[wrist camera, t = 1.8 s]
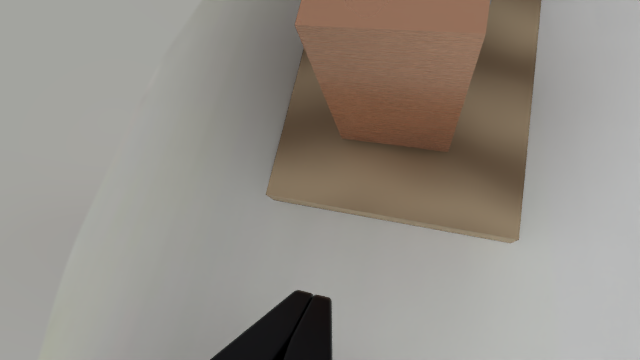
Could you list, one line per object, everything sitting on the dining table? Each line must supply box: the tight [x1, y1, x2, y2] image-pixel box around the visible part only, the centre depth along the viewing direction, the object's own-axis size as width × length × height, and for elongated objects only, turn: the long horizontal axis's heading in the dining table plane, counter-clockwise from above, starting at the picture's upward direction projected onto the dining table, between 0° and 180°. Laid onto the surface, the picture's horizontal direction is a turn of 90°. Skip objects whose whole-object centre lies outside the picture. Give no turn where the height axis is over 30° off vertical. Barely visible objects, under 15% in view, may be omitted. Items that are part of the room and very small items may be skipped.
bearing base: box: [266, 0, 541, 243], centre depth 19 cm, size 21×14×10 cm, turn 167°
